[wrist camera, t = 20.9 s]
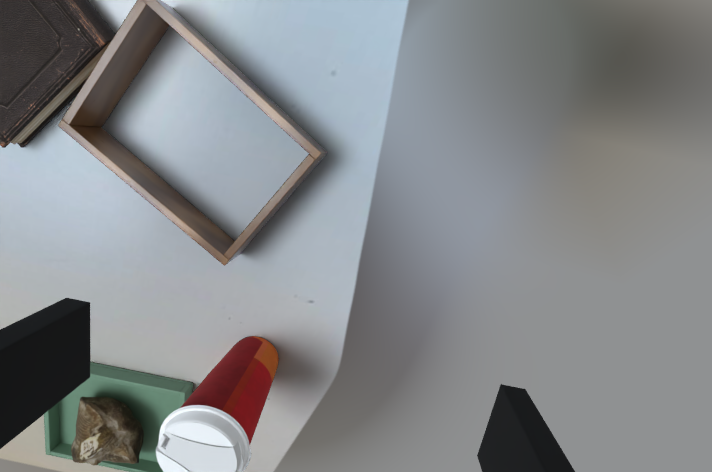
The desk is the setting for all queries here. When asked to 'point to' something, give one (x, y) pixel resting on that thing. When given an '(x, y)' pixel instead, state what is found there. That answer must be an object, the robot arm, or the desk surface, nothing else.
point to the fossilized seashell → (106, 432)
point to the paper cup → (220, 413)
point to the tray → (135, 389)
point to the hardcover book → (44, 60)
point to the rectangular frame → (86, 129)
